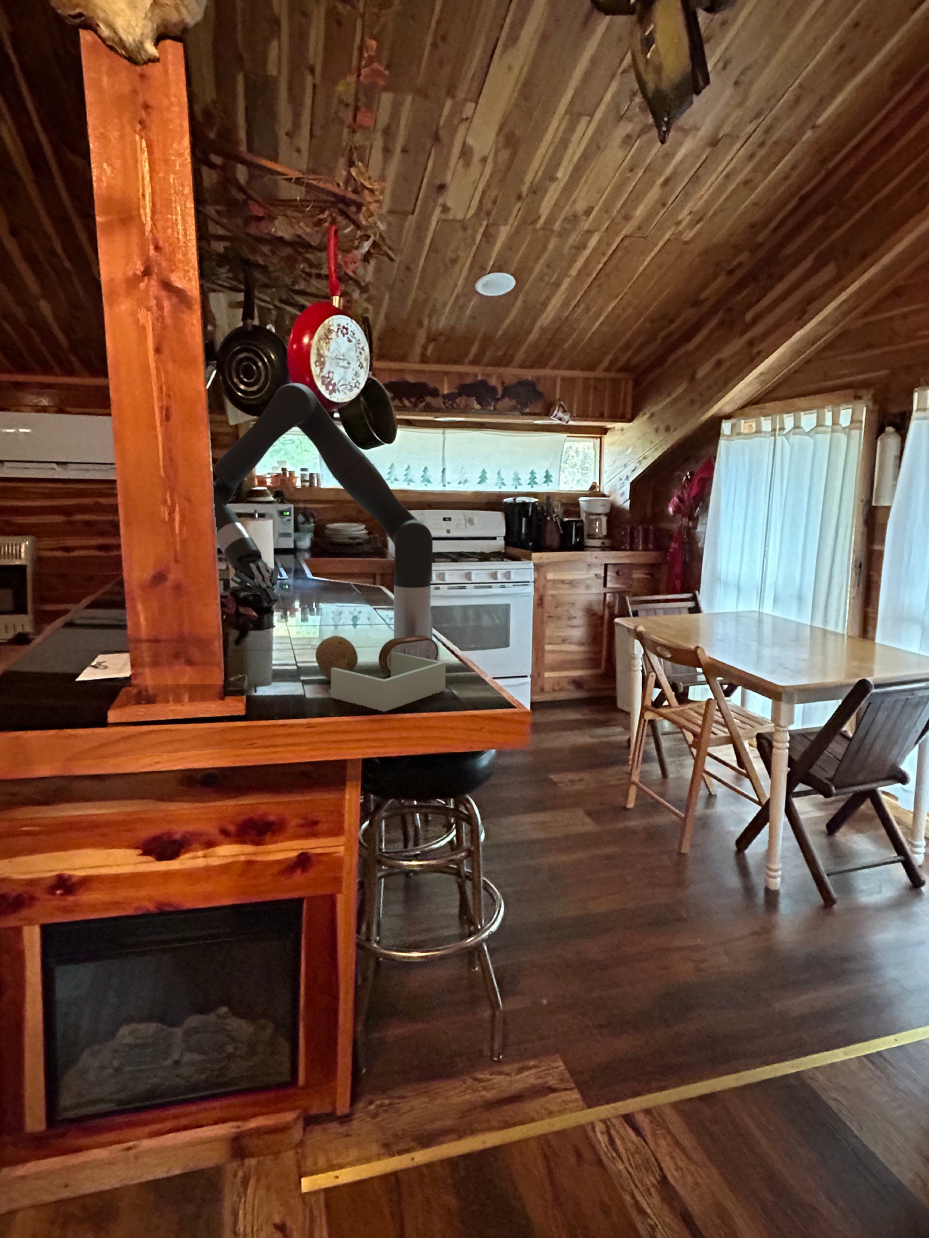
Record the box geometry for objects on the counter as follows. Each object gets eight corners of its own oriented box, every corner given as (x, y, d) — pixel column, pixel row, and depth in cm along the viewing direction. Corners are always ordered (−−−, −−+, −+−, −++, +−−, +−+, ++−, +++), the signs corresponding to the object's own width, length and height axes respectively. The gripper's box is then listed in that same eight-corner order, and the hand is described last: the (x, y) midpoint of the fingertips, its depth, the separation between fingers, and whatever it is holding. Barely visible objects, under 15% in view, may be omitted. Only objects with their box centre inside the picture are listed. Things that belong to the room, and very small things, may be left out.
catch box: (393, 678, 168) (393, 651, 167) (445, 690, 160) (445, 662, 159) (331, 697, 153) (330, 668, 152) (384, 711, 145) (384, 681, 144)
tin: (432, 667, 178) (432, 632, 177) (440, 670, 176) (440, 634, 174) (377, 676, 169) (377, 639, 168) (385, 679, 167) (385, 642, 165)
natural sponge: (339, 673, 171) (339, 630, 170) (366, 680, 166) (366, 636, 164) (307, 680, 165) (306, 636, 163) (335, 688, 159) (334, 642, 157)
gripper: (220, 537, 172) (257, 596, 167) (267, 534, 182) (303, 590, 178) (207, 559, 176) (243, 617, 171) (254, 554, 186) (288, 609, 182)
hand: (273, 603), depth 174 cm, fingers closed
